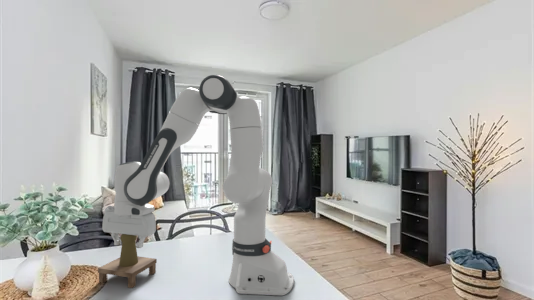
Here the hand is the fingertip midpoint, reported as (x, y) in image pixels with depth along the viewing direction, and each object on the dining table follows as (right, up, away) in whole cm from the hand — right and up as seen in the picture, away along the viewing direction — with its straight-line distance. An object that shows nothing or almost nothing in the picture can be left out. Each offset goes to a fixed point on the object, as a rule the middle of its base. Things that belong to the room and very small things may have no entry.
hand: (128, 246), depth 95 cm
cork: (0, -6, 0) cm, 6 cm away
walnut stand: (0, -11, 0) cm, 11 cm away
